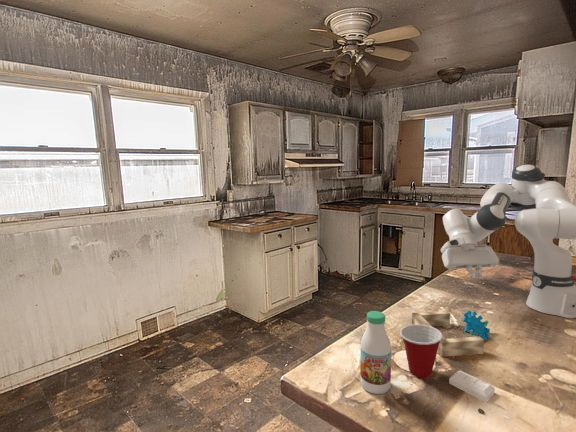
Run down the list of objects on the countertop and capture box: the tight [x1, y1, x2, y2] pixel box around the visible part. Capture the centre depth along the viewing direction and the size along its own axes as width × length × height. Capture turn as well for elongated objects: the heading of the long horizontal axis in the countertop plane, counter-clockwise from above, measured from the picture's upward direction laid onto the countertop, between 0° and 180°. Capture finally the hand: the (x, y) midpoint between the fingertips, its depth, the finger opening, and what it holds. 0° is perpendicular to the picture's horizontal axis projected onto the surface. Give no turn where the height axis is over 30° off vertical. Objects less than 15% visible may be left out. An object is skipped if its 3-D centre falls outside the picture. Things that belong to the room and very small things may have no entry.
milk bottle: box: [359, 310, 392, 395], centre depth 84 cm, size 8×8×20 cm
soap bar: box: [448, 370, 496, 403], centre depth 84 cm, size 5×9×3 cm, turn 37°
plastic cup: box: [399, 324, 443, 379], centre depth 90 cm, size 11×11×12 cm
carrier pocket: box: [411, 310, 485, 358], centre depth 107 cm, size 13×20×4 cm, turn 4°
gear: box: [462, 310, 491, 342], centre depth 110 cm, size 11×6×10 cm
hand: (477, 277), depth 121 cm, fingers closed
